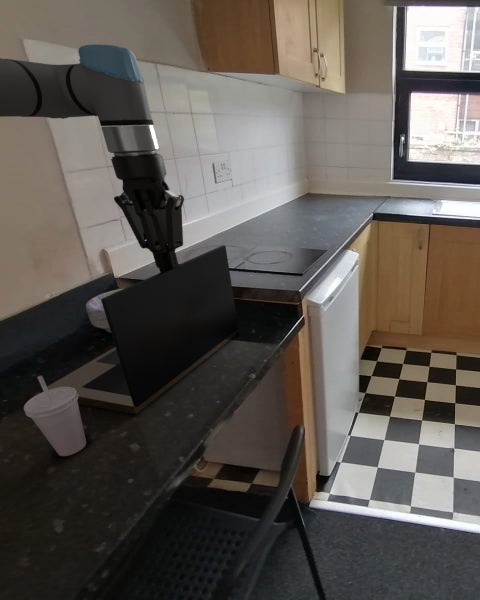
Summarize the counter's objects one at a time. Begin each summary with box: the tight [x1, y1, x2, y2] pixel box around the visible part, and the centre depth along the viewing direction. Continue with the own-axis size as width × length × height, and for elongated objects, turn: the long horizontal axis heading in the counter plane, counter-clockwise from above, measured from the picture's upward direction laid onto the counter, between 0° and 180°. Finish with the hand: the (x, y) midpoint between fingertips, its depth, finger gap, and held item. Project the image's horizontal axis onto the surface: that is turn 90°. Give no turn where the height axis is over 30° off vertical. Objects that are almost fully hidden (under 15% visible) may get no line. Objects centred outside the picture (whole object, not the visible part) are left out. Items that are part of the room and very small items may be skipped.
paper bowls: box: [85, 287, 126, 334], centre depth 102 cm, size 15×15×8 cm
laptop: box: [41, 330, 237, 415], centre depth 87 cm, size 21×30×2 cm
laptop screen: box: [101, 244, 239, 407], centre depth 80 cm, size 21×30×1 cm
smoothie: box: [23, 375, 87, 457], centre depth 62 cm, size 6×6×14 cm
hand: (172, 283), depth 77 cm, fingers closed
